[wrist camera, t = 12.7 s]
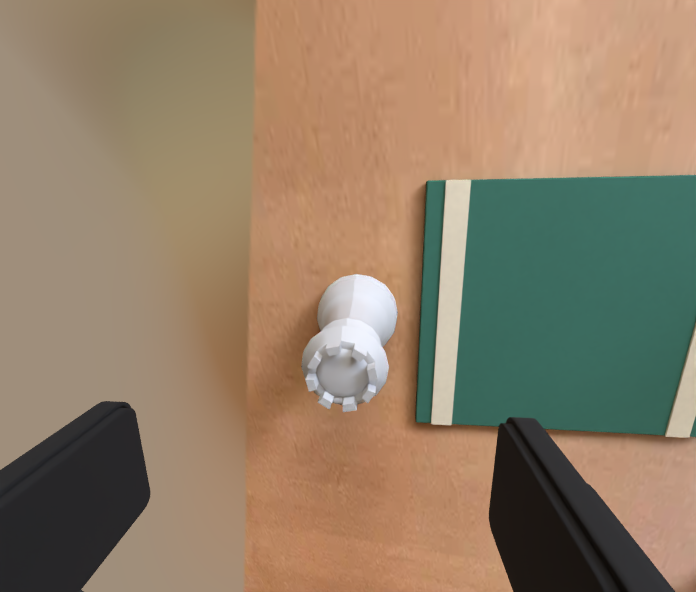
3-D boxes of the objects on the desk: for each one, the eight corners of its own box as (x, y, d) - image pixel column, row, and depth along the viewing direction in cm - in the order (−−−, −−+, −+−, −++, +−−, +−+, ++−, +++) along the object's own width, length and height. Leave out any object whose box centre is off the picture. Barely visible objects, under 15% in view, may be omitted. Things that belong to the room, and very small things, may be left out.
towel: (415, 418, 20) (416, 423, 20) (426, 181, 17) (427, 180, 16) (698, 433, 19) (706, 438, 18) (778, 174, 15) (791, 172, 15)
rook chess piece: (317, 273, 19) (271, 319, 11) (396, 271, 18) (407, 317, 11) (322, 346, 20) (284, 433, 12) (397, 346, 19) (406, 437, 12)
